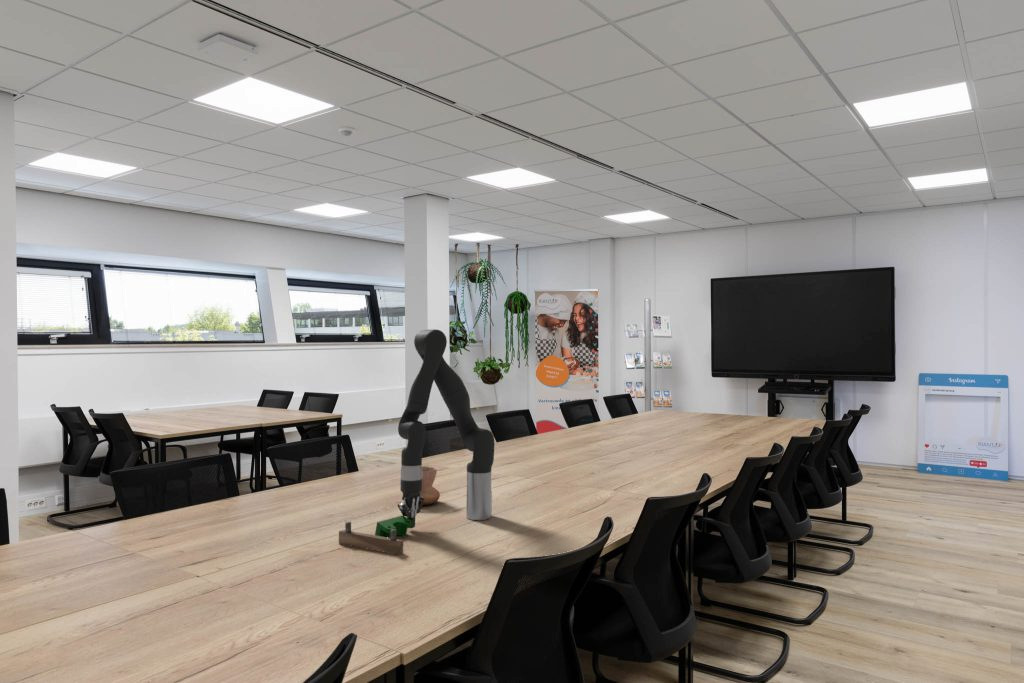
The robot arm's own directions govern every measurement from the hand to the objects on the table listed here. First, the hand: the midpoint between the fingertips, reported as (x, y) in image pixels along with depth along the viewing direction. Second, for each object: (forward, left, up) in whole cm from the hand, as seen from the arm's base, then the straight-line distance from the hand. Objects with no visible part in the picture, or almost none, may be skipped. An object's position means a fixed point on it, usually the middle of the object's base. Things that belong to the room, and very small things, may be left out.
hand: (411, 527), depth 223 cm
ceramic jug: (-33, -19, -1) cm, 38 cm away
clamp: (+9, 0, -1) cm, 9 cm away
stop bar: (+22, 0, -1) cm, 22 cm away
